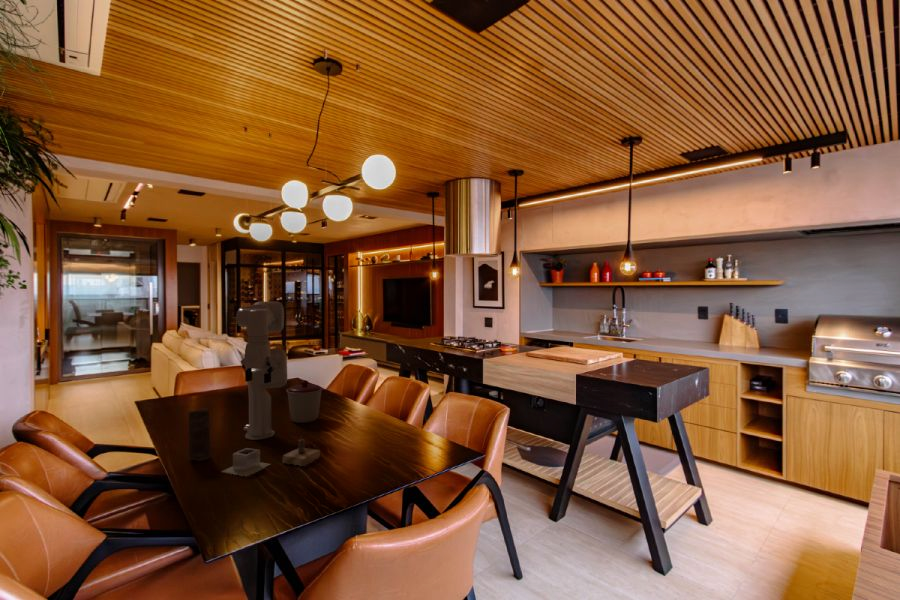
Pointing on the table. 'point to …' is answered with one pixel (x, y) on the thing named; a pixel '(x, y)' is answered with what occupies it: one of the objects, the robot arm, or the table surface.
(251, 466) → the hollow square tube
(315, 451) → the peg stand
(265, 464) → the rubber pad
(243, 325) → the robot arm
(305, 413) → the canister
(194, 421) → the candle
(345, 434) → the table surface
